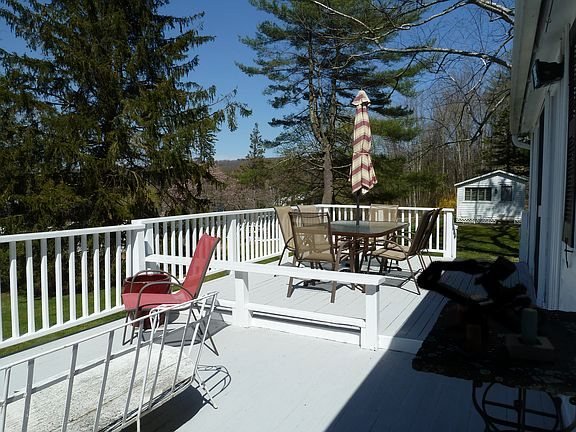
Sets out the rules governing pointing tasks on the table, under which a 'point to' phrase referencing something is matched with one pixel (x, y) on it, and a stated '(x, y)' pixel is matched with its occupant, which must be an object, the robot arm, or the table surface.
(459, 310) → the soda can
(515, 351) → the socket block
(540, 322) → the dark curved piece
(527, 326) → the long peg
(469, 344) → the short peg
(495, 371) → the table surface
